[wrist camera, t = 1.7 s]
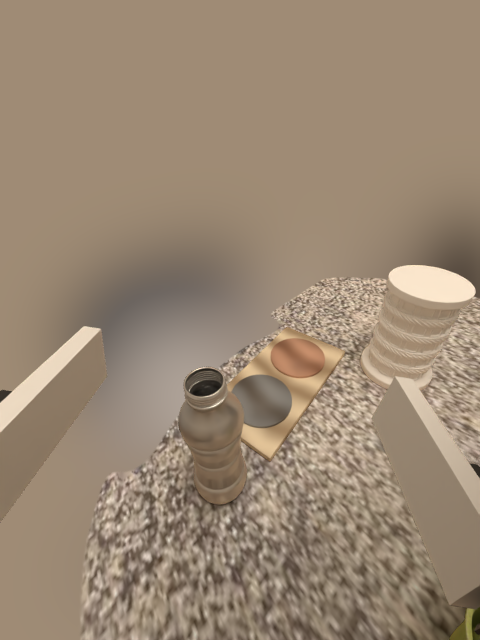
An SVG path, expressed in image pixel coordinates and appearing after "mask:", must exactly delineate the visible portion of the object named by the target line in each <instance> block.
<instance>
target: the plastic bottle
mask: <svg viewBox="0 0 480 640" xmlns="http://www.w3.org/2000/svg"><path fill="white" fill-rule="evenodd" d="M184 391H185V399H186V400H185V402H184V403H183V405H182V407H181V410H180V413H179V418H178V426H179V430H180V432H181V435H182V437H183V439H184V441H185V442H186V444H187V446H188V447H189V449H190V451H191V453H192V456H193V459H194V483H195V487H196V489H197V491H198V492H199V494H200V495H201V496H202V497H203V498H204V499H205V500H206V501H208V502H210V503H213V504H226V503H229V502H231V501H232V500H234V499H235V498H236V497H238V496H239V494H240V493H241V492H242V490H243V488H244V485H245V482H246V478H247V467H246V464H245V461H244V458H243V456H242V453H241V448H240V443H241V434H242V429H243V424H244V410H243V407H242V405H241V403H240V401H239V400H238V398H237V397H236V396H235V395H234V394H233V393H232V392H230V391H228V387H227V385H226V381H225V377H224V375H223V373H222V372H221V371H220V370H218V369H216V368H213V367H202V368H198V369H195V370H193V371H192V372H190V373H189V374H188V375H187V376H186V378H185V380H184Z"/></svg>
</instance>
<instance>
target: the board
mask: <svg viewBox="0 0 480 640" xmlns="http://www.w3.org/2000/svg"><path fill="white" fill-rule="evenodd" d="M344 354H345V351H344V350H341V349H339V348H336V347H334V346H332V345H329V344H327V343H324V342H322V341H320V340H317V339H315V338H312V337H310V336H308V335H305V334H303V333H300V332H298V331H296V330H293V329H291V328H288V327H286V328H285V329H284V330H283V331H282V332H281V333H280V334H279V335H278V336H277V337H276V338H275V339H274V340H273V341H272V342H271V343H270V344H269V345H268V346H267V347H266V348H265V349H263V350H262V351H261V352H260V353H259V354H258V355H257V356H256V357H255V358H254V359H253V360H252V361H251V362H250V363H249V364H248V365H247V366H246V367H245V368H244V369H243V370H242V371H241V372H240V373H239V374H238V375H237V376H236V377H235V378H234V379H233V380H232V381H231V382H230V383H229V384H228V385H227V387H228V391H230V392H232V393H233V394H234V395H235V396H236V397H237V398H238V400H239V401H240V403H241V405H242V407H243V410H244V424H243V429H242V434H241V441H242V442H243V443H245V444H246V445H248V446H249V447H250V448H252V449H253V450H254V451H256V452H257V453H258V454H260V455H261V456H263V457H264V458H265V459H267V460H268V461H269V462H270V461H271V460H272V458H273V457H274V456H275V454H276V453H277V451H278V450H279V448H280V447H281V445H282V444H283V443H284V441H285V440H286V438H287V437H288V435H289V434H290V432H291V431H292V430H293V428H294V427H295V425H296V424H297V422H298V421H299V420H300V418H301V417H302V415H303V414H304V412H305V411H306V409H307V408H308V407H309V405H310V404H311V402H312V401H313V399H314V398H315V396H316V395H317V394H318V392H319V391H320V389H321V388H322V386H323V385H324V383H325V382H326V381H327V379H328V378H329V376H330V375H331V373H332V372H333V371H334V369H335V368H336V366H337V365H338V363H339V362H340V360H341V359H342V358H343V356H344Z"/></svg>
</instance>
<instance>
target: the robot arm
mask: <svg viewBox="0 0 480 640" xmlns="http://www.w3.org/2000/svg"><path fill="white" fill-rule="evenodd" d="M106 377H107V370H106V363H105V356H104V348H103V340H102V332H101V329H98V328H91V327H85V326H84V327H83V328H82V329H80V330H79V331H78V332H77V333H76V334H75V335H74V336H73V337H72V338H71V339H70V340H68V341H67V342H66V343H65V344H64V345H63V346H62V347H61V348H60V349H58V350H57V351H56V353H54V354H53V355H52V356H51V357H50V358H49V359H48V360H47V361H45V362H44V363H43V364H42V365H41V366H40V367H39V368H38V369H37V370H36V371H34V373H32V374H31V375H30V376H29V377H28V378H27V379H26V380H25V381H23V383H21V384H20V385H19V386H18V387H17V388H16V389H15V390H14V391H13V392H12V391H6V390H1V391H0V523H1V521H2V520H3V518H4V517H5V516H6V514H7V513H8V512H9V510H10V509H11V507H12V506H13V505H14V503H15V502H16V501H17V499H18V498H19V497H20V495H21V494H22V492H23V491H24V490H25V488H26V487H27V486H28V484H29V483H30V481H31V480H32V479H33V477H34V476H35V475H36V473H37V472H38V470H39V469H40V468H41V466H42V465H43V464H44V462H45V461H46V460H47V458H48V457H49V455H50V454H51V453H52V451H53V450H54V448H55V447H56V446H57V444H58V443H59V442H60V440H61V439H62V438H63V436H64V435H65V433H66V432H67V430H68V429H69V428H70V427H71V425H72V424H73V423H74V421H75V420H76V418H77V417H78V416H79V414H80V413H81V411H82V410H83V409H84V408H85V406H86V405H87V403H88V402H89V401H90V399H91V398H92V396H93V395H94V394H95V392H96V391H97V390H98V388H99V387H100V386H101V384H102V383H103V381H104V380H105V379H106ZM372 421H373V423H374V426H375V428H376V430H377V433H378V435H379V438H380V440H381V442H382V445H383V447H384V450H385V452H386V454H387V457H388V459H389V462H390V464H391V466H392V469H393V471H394V474H395V476H396V478H397V481H398V483H399V486H400V488H401V490H402V493H403V495H404V498H405V500H406V502H407V505H408V507H409V510H410V512H411V514H412V517H413V519H414V522H415V524H416V526H417V529H418V531H419V534H420V536H421V538H422V541H423V543H424V546H425V548H426V550H427V553H428V555H429V558H430V560H431V562H432V565H433V567H434V570H435V572H436V574H437V577H438V579H439V582H440V584H441V586H442V589H443V591H444V594H445V596H446V598H447V601H448V603H449V605H451V606H457V607H463V608H470V609H477V608H479V607H480V467H479V466H478V465H476V464H469V462H468V461H467V459H466V458H465V456H464V455H463V453H462V452H461V450H460V449H459V447H458V446H457V444H456V443H455V441H454V440H453V438H452V437H451V436H450V434H449V433H448V431H447V430H446V428H445V427H444V425H443V424H442V422H441V421H440V419H439V418H438V416H437V415H436V413H435V412H434V410H433V409H432V408H431V406H430V405H429V403H428V402H427V400H426V399H425V397H424V396H423V394H422V393H421V391H420V390H419V388H418V387H417V385H416V384H415V382H414V381H413V380H412V379H409V378H403V377H397V376H395V377H394V379H393V381H392V383H391V384H390V386H389V388H388V390H387V392H386V393H385V395H384V397H383V399H382V401H381V402H380V404H379V406H378V408H377V410H376V411H375V413H374V415H373V417H372ZM474 632H475V633H476V634H478V635H480V623H479V624H478V625H477V626H476V628H475V630H474Z"/></svg>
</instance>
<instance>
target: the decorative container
mask: <svg viewBox="0 0 480 640" xmlns="http://www.w3.org/2000/svg"><path fill="white" fill-rule="evenodd" d="M386 285H387V288H388V289H389V291H388V292H387V293H386V295H385V296H384V307H383V308H382V309H381V310H380V312H379V322H378V323H377V324H376V326H375V328H374V336H373V337H372V339H371V341H370V345H369V346H367V347H366V348H365V349H364V350H363V353H362V356H361V359H360V363H361V367H362V370H363V372H364V373H365V374H366V375H367V377H368V378H369V379H371V380H372V381H373V382H374V383H376V384H377V385H379V386H381V387H383V388H385V389H388V388H389V386H390V384H391V383H392V381H393V379H394V377H395V376H397V377H403V378H409V379H412V380H413V381H414V382H415V384H416V385H417V387H418V388H419V390H420V391H422V390H424V389H425V388H426V387H427V386H428V384H429V382H430V381H431V379H432V373H433V371H432V369H431V366H433V364H434V361H435V357H436V356H437V355H438V354H439V352H441V351H440V350H442V349H441V348H442V347H443V341H445V340H446V339H447V337H448V336H449V334H450V332H451V326H452V325H453V324H454V323H455V322H456V320H457V319H458V317H459V314H460V309H462V308H464V307H466V306H468V305H469V304H470V302H471V300H472V298H473V297H474V295H475V288H474V287H473V285H472V284H471V283H470V282H469V281H468V280H466V279H465V278H463V277H461V276H459V275H457V274H455V273H452V272H450V271H447V270H444V269H440V268H436V267H430V266H421V265H408V266H401V267H398V268H396V269H393V270H392V271H391V272H390V273H389V277H388V280H387V283H386Z"/></svg>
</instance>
